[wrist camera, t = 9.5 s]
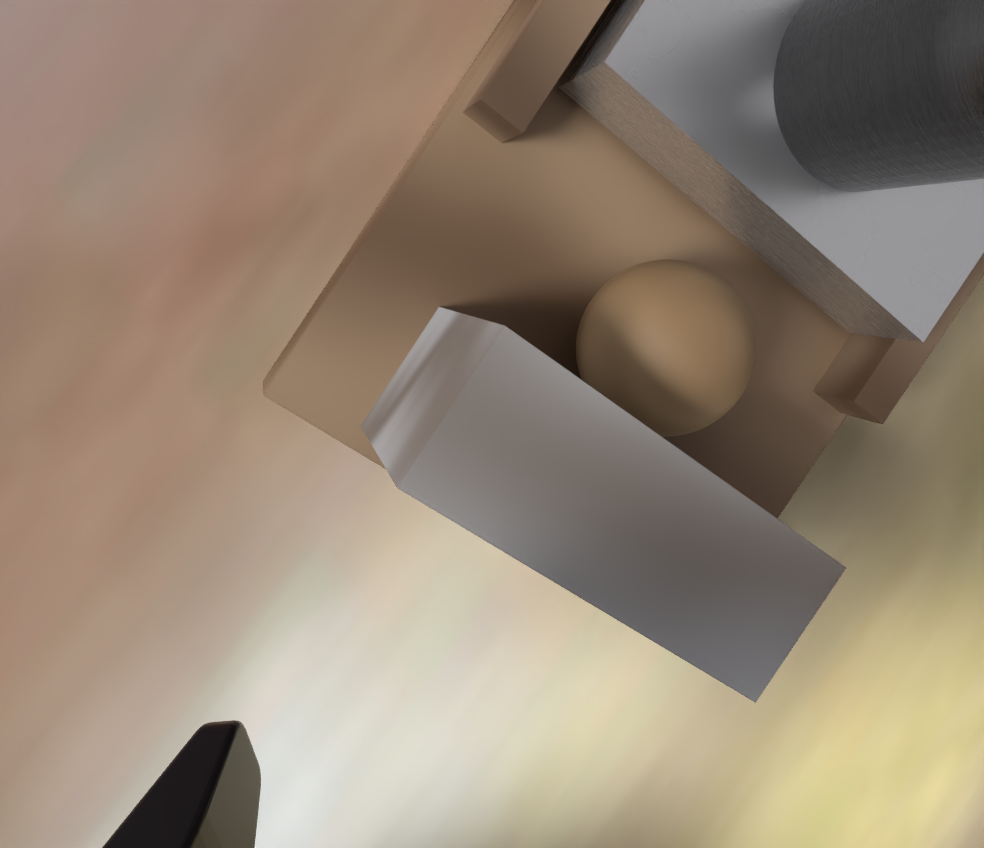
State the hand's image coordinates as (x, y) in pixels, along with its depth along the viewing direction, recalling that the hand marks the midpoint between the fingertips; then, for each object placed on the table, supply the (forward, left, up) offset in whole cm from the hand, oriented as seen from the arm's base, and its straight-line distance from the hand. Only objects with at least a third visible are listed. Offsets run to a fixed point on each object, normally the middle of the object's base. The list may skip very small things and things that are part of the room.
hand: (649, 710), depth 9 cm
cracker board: (+6, -7, -12) cm, 15 cm away
